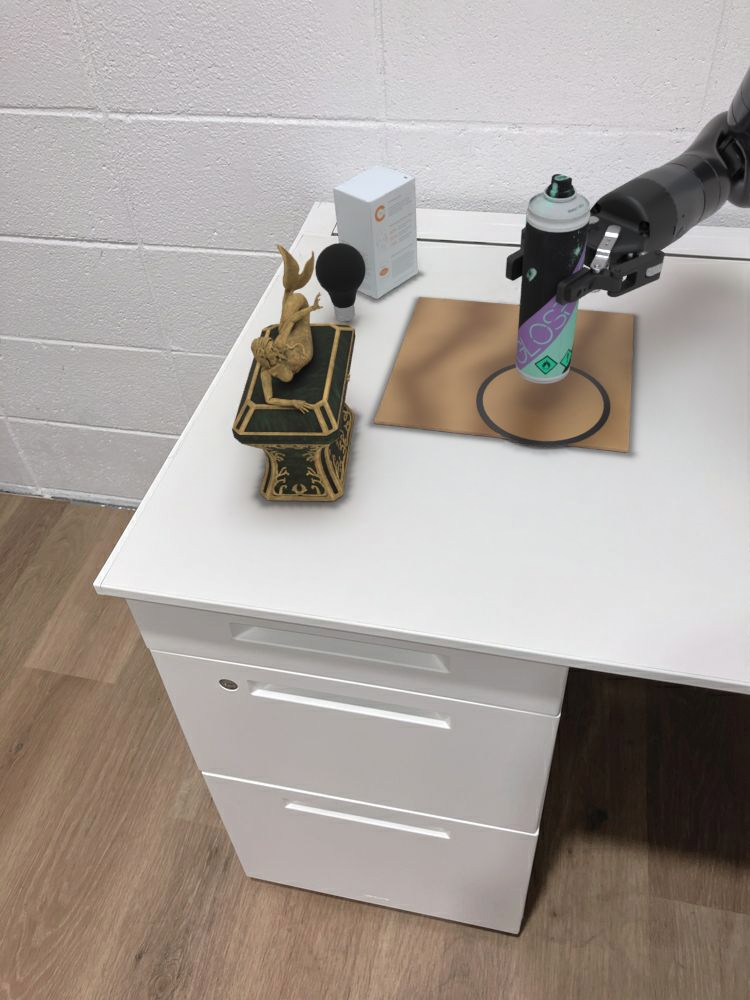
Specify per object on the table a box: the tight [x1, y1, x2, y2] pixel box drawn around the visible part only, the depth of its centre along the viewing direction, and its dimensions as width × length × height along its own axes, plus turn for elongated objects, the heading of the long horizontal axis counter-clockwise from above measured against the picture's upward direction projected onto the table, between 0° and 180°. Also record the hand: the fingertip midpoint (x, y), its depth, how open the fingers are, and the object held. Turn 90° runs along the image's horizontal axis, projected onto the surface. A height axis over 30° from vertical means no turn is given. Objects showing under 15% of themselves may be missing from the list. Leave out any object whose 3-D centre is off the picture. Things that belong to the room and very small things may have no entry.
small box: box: [332, 164, 419, 300], centre depth 100 cm, size 8×6×13 cm
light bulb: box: [314, 242, 366, 323], centre depth 95 cm, size 6×6×10 cm
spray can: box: [516, 173, 591, 384], centre depth 75 cm, size 6×6×20 cm
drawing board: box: [373, 296, 635, 453], centre depth 90 cm, size 26×25×1 cm
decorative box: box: [231, 243, 356, 502], centre depth 76 cm, size 20×10×20 cm, turn 175°
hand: (534, 282), depth 73 cm, fingers closed on spray can, 5 cm apart
